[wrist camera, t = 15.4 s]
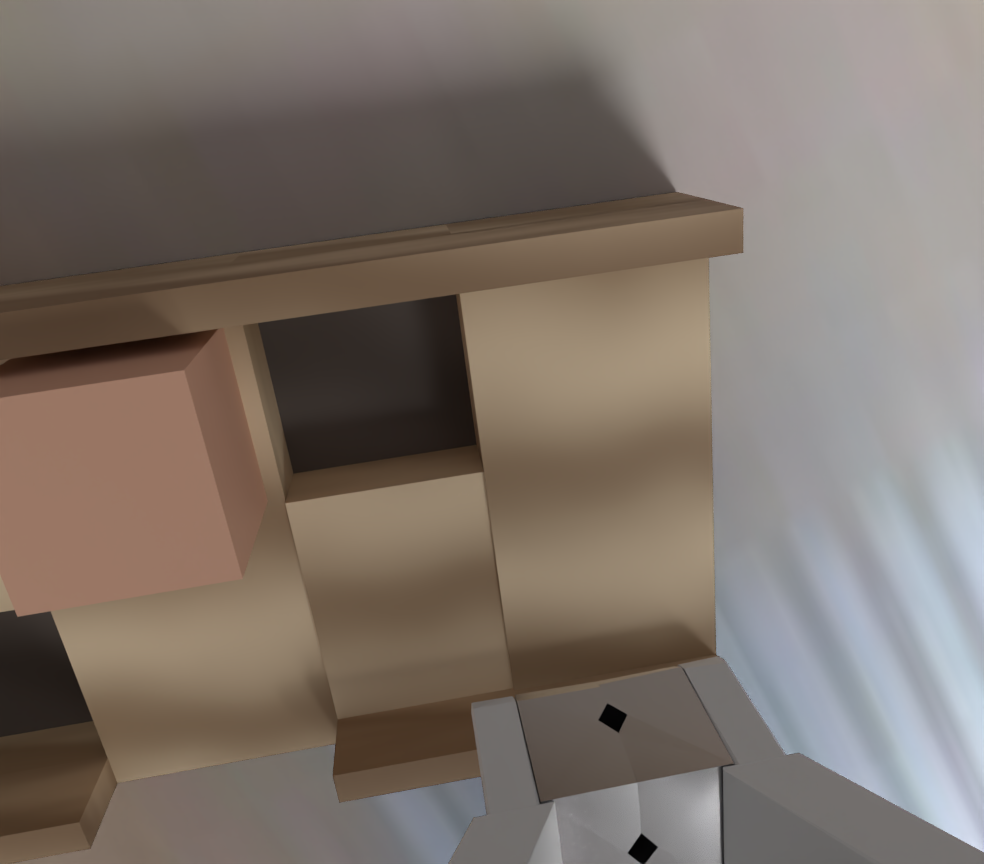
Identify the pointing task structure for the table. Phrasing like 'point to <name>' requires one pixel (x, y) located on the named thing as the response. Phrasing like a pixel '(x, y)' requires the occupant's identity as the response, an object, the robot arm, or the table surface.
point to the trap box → (393, 503)
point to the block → (124, 472)
